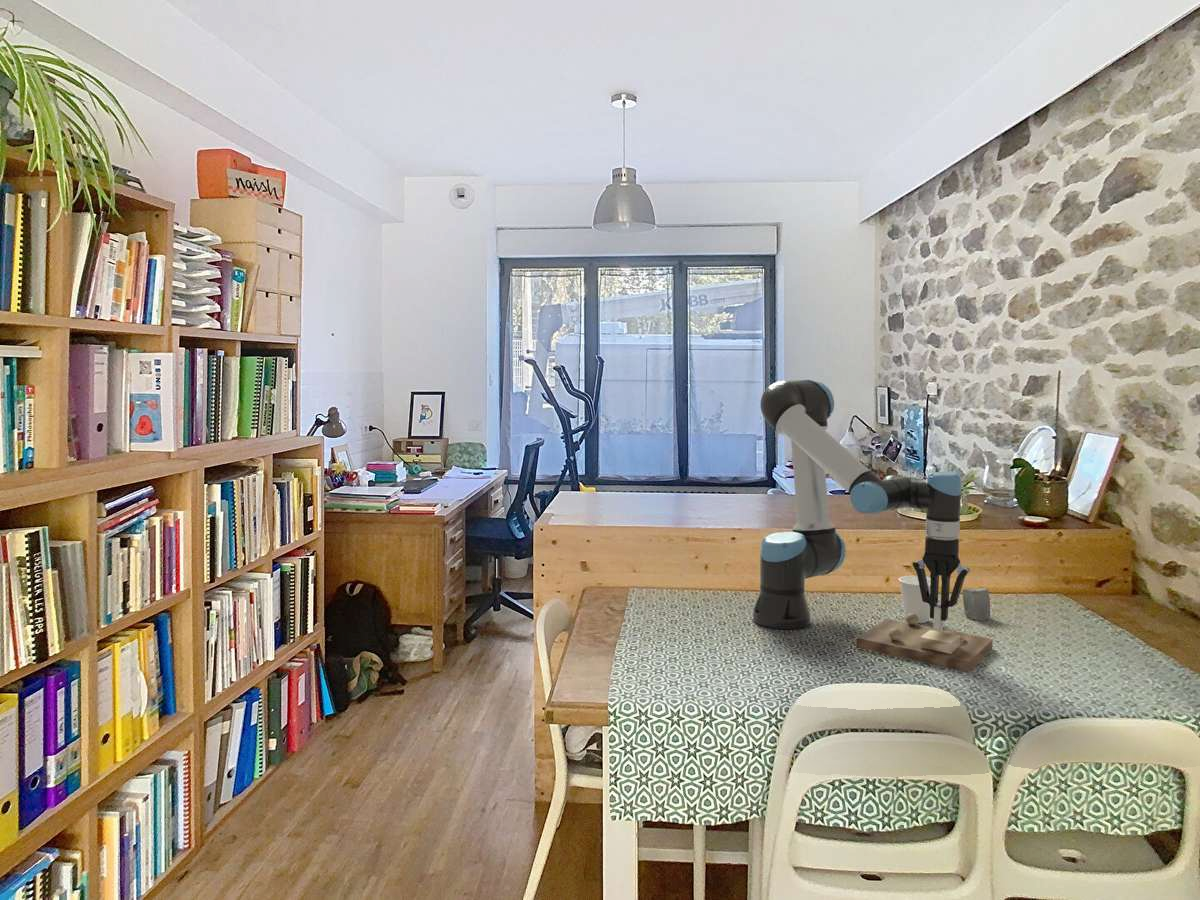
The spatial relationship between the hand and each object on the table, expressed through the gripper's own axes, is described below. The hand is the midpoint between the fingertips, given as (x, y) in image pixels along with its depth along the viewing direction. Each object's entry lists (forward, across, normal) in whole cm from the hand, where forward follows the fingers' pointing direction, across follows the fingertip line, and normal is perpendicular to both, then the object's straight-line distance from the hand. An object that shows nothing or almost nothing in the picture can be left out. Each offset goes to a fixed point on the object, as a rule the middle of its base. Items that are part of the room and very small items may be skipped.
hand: (938, 632), depth 203 cm
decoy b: (0, -8, +7) cm, 11 cm away
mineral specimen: (+4, 0, +33) cm, 34 cm away
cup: (+4, -12, +20) cm, 23 cm away
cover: (+1, +3, -7) cm, 7 cm away
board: (+4, -2, -2) cm, 5 cm away
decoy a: (0, -8, -8) cm, 11 cm away
